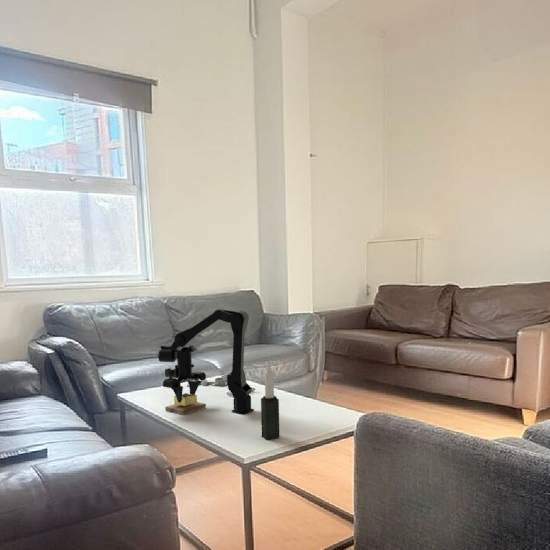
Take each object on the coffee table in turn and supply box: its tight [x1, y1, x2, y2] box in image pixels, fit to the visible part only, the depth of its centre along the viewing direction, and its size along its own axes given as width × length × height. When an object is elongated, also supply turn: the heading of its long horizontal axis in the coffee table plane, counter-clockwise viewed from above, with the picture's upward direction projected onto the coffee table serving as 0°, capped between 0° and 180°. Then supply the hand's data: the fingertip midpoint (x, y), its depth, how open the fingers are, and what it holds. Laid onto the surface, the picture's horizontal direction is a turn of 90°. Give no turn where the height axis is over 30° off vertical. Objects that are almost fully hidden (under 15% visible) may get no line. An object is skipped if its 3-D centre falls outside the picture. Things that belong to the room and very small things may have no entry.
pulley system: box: [186, 373, 229, 388], centre depth 240 cm, size 27×5×15 cm
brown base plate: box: [164, 392, 207, 416], centre depth 197 cm, size 11×12×6 cm
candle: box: [260, 362, 281, 441], centre depth 161 cm, size 5×5×25 cm
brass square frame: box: [173, 392, 198, 406], centre depth 197 cm, size 6×6×3 cm
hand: (185, 400), depth 197 cm, fingers closed on brass square frame, 6 cm apart
